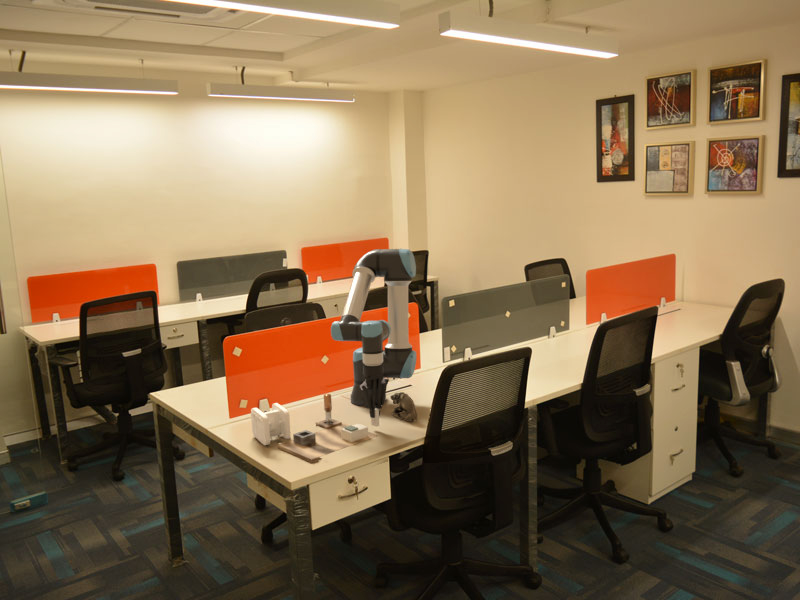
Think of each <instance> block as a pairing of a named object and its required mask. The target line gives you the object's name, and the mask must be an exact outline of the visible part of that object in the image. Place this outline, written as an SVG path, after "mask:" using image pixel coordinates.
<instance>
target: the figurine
mask: <svg viewBox="0 0 800 600" xmlns="http://www.w3.org/2000/svg"><path fill="white" fill-rule="evenodd" d="M390 400H392V404H393V405H397V406H396V407H395V408H394V410H393V411H392V412H391V416H392V417H396V418H399V419H401V420H404V421H406V422H416V421H417V420H418V412H417V410H416V405H415V402H414V399H413V398H412V397H411V396H409V395H408V393H405V392H403V391H402V392H401V391H400V392H396V393H393V394H391V395H390ZM400 413H401V414H400Z"/></svg>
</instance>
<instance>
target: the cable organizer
mask: <svg viewBox="0 0 800 600" xmlns="http://www.w3.org/2000/svg"><path fill="white" fill-rule="evenodd" d="M271 407H272V408H271V410H270V411H265V412H263V411H262V410H261V409H259V408H258V407H252V408H251V409H250V416H251V418H250V419H251V431H252V434H253V436H254V438H256V439H257V440H258V442H260V443H261V445H263V446H269V445H270V444H271V441H273V437H275V436H278V437H279V439H281V438H284V439H285V440H290V439H291V435H292V434H291V425H290V424H291V423H290V413H289V411H288V410H287V409H286V407H284V406H282V405H281V404H279V403H278V402H275V403H272V405H271Z"/></svg>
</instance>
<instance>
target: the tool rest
mask: <svg viewBox="0 0 800 600" xmlns="http://www.w3.org/2000/svg"><path fill="white" fill-rule="evenodd" d="M331 419H332V423H331V424H326V419H324V420H320V421H317V422H316V423H315V427H321V428H323V429H329V428H332V427H335V426H338V425H341V424H343V422H342V421H339V420H336V419H333V418H331Z"/></svg>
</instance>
